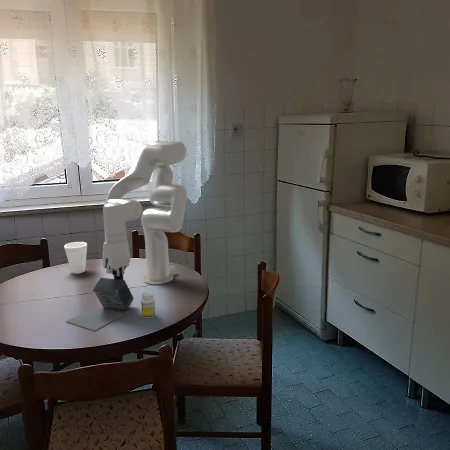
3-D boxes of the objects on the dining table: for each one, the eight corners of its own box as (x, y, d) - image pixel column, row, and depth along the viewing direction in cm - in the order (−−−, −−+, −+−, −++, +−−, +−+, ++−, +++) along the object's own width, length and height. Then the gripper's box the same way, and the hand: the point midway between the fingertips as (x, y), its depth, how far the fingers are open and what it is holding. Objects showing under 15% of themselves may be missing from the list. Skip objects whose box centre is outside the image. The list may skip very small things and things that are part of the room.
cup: (68, 269, 207) (65, 242, 204) (90, 267, 209) (87, 241, 206) (65, 276, 197) (62, 248, 194) (89, 274, 200) (86, 246, 197)
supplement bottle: (142, 313, 159) (141, 291, 157) (156, 312, 160) (154, 290, 158) (141, 319, 155) (140, 296, 153) (155, 318, 155) (153, 296, 153)
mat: (96, 307, 165) (96, 306, 165) (124, 315, 158) (124, 314, 158) (66, 322, 153) (65, 321, 153) (94, 331, 146) (94, 330, 146)
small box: (134, 297, 165) (125, 279, 158) (127, 311, 161) (117, 293, 154) (110, 294, 169) (100, 276, 162) (102, 308, 164) (92, 290, 157)
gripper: (122, 231, 168) (125, 277, 172) (92, 240, 155) (96, 289, 159) (137, 233, 164) (140, 280, 168) (108, 243, 152) (111, 293, 156)
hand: (119, 284), depth 164 cm, fingers closed
